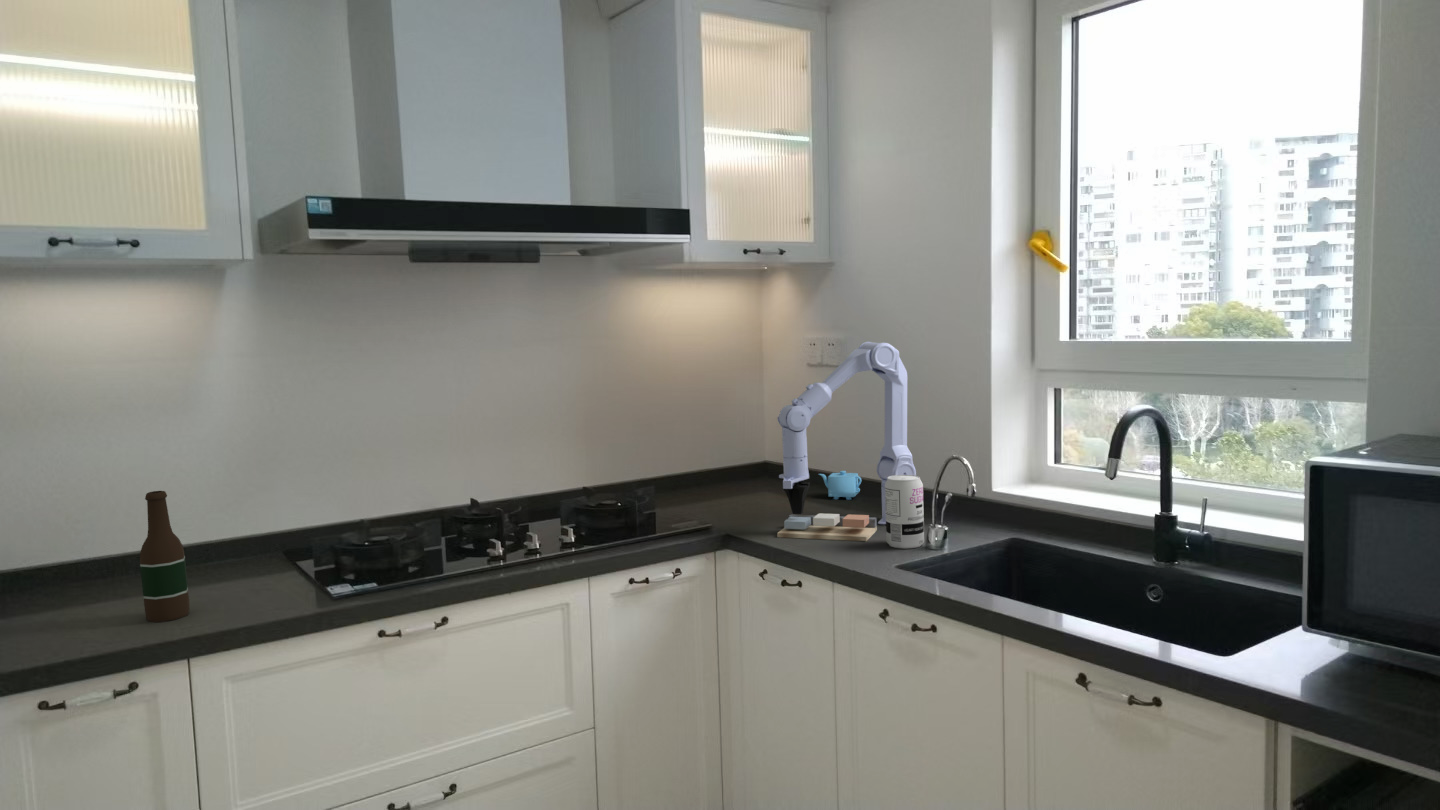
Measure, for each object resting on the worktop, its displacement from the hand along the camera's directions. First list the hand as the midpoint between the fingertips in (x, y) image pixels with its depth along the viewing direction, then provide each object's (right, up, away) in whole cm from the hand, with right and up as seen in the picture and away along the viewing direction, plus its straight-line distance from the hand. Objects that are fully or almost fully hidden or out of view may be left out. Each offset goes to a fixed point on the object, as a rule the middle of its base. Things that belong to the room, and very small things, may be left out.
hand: (797, 513), depth 235 cm
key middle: (+7, -2, -2) cm, 7 cm away
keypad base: (+7, -5, -2) cm, 8 cm away
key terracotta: (+13, -2, -5) cm, 14 cm away
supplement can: (+23, -5, -15) cm, 28 cm away
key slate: (0, -3, 0) cm, 3 cm away
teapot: (+15, 0, +40) cm, 43 cm away
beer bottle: (-123, -15, -45) cm, 132 cm away
